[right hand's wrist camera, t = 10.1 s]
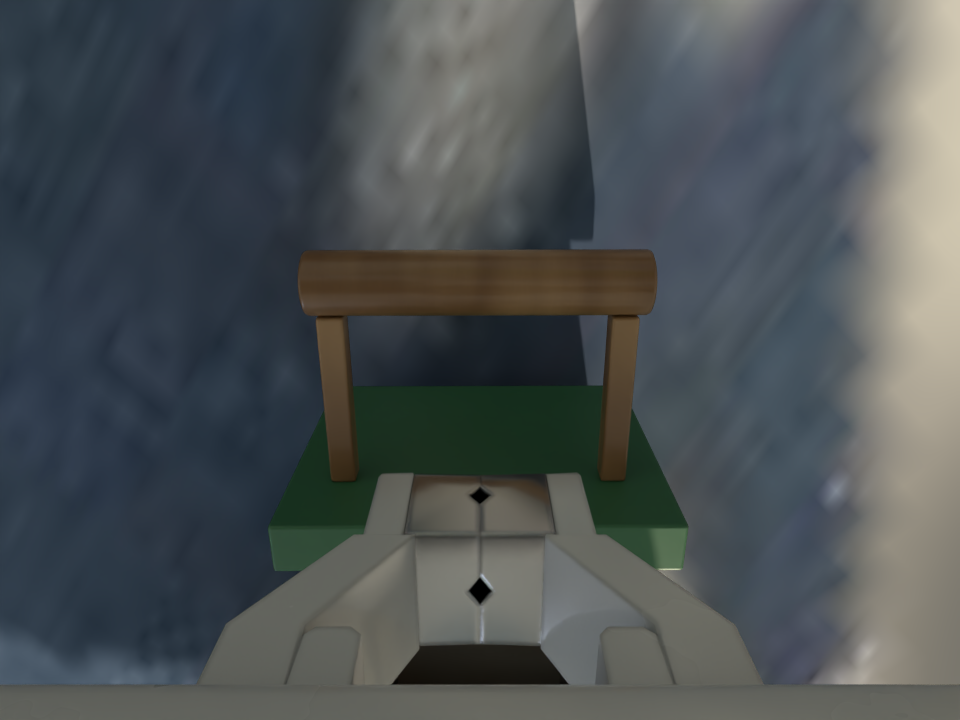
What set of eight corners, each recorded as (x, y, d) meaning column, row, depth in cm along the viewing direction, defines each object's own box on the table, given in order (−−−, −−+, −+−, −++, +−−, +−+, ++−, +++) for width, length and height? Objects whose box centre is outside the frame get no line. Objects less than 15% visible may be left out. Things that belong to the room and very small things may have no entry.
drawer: (318, 209, 19) (230, 275, 12) (636, 208, 19) (723, 274, 12) (374, 825, 29) (341, 1054, 22) (585, 824, 29) (618, 1053, 22)
